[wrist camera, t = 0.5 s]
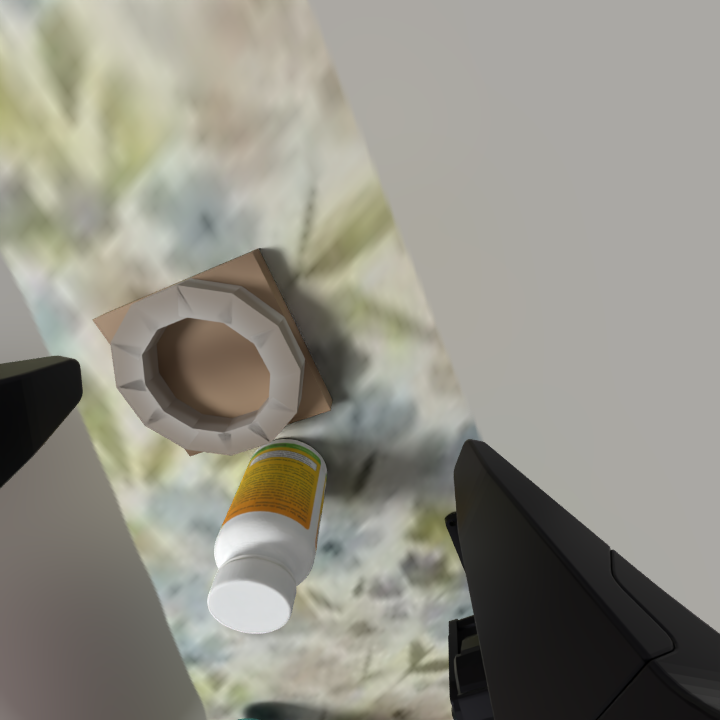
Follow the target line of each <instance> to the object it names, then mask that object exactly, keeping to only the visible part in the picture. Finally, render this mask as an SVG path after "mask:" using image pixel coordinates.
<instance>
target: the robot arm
mask: <svg viewBox="0 0 720 720" xmlns="http://www.w3.org/2000/svg"><path fill="white" fill-rule="evenodd" d="M82 393H83V389H82V379H81V369H80V364H79V362H78V361H77V360H75V359H72V358H67V357H62V356H50V357H43V358H37V359H30V360H23V361H17V362H10V363H3V364H0V488H1V487H2V486H3V485H4V484H5V483H6V482H8V481H9V480H10V479H11V478H12V477H13V476H14V474H16V473H17V472H18V471H19V470H20V469H21V468H22V467H23V466H24V465H25V464H26V463H27V462H28V461H29V460H30V459H31V458H32V457H33V456H34V455H35V453H36V452H37V451H38V450H39V449H40V448H41V447H42V446H43V444H44V443H45V442H46V441H47V440H48V439H49V437H50V436H51V435H52V434H53V433H54V431H55V430H56V429H57V428H58V427H59V425H60V424H61V423H62V422H63V421H64V419H65V418H66V417H67V416H68V415H69V414H70V412H71V411H72V410H73V409H74V408H75V407H76V405H77V404H78V403H79V401H80V400H81V397H82ZM454 486H455V499H456V511H457V513H454V514H450V515H448V516H446V518H445V523H446V527H447V529H448V532H449V534H450V536H451V539H452V541H453V544H454V546H455V549H456V551H457V553H458V556H459V558H460V561H461V563H462V566H463V568H464V570H465V573H466V577H467V582H468V587H469V592H470V597H471V603H472V608H473V613H474V615H472V616H469V617H466V618H463V619H460V620H458V619H455V620H452V621H449V636H448V642H449V687H450V701H451V705H452V716H453V719H454V720H720V634H719V633H718V632H717V631H716V630H714V629H713V628H712V627H710V626H709V625H708V624H706V623H705V622H704V621H702V620H701V619H700V618H698V617H697V616H696V615H694V614H693V613H692V612H691V611H689V610H688V609H687V608H685V607H684V606H683V605H682V604H680V603H679V602H678V601H676V600H675V599H674V598H672V597H671V596H670V595H669V594H667V593H666V592H665V591H663V590H662V589H661V588H659V587H658V586H657V585H656V584H655V583H653V582H652V581H651V580H650V579H649V578H647V577H646V576H645V575H644V574H642V573H641V572H640V571H638V570H637V569H636V568H635V567H634V566H633V565H631V564H630V563H629V562H628V561H627V560H625V559H624V558H623V557H622V556H621V555H619V554H618V553H617V552H616V551H615V550H610V547H609V546H608V545H607V544H606V543H605V542H604V541H602V540H601V539H600V538H599V537H598V536H596V535H595V534H594V533H593V532H592V531H590V530H589V529H588V528H587V527H586V526H584V525H583V524H582V523H581V522H580V521H578V520H577V519H576V518H575V517H574V516H572V515H571V514H570V513H569V512H568V511H566V510H565V509H564V508H563V507H562V506H560V505H559V504H558V503H557V502H556V501H555V500H553V499H552V498H551V497H550V496H549V495H547V494H546V493H545V492H544V491H542V490H541V489H540V488H539V487H538V486H536V485H535V484H534V483H533V482H532V481H531V480H529V479H528V478H527V477H526V476H524V475H523V474H522V473H521V472H520V471H519V470H517V469H516V468H515V467H514V466H513V465H511V464H510V463H509V462H508V461H507V460H505V459H504V458H503V457H502V456H501V455H499V454H498V453H497V452H496V451H495V450H493V449H492V448H491V447H490V446H489V445H487V444H486V443H485V442H482V441H477V440H472V439H468V440H466V441H465V443H464V445H463V447H462V450H461V452H460V455H459V457H458V460H457V462H456V465H455V469H454ZM451 521H453V522H451Z"/></svg>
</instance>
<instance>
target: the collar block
mask: <svg viewBox="0 0 720 720" xmlns="http://www.w3.org/2000/svg"><path fill="white" fill-rule="evenodd" d="M93 321H94V323H95V324H96V325H97V327H98V328H99V330H100V331H101V332H102V334H103V335H104V337H105V338H106V339H107V341H108V342H109V344H110V345H111V352H112V359H113V366H114V373H115V380H116V387H117V389H118V390H119V392H120V393H121V394H122V396H123V397H124V398H125V400H126V401H127V402H128V404H129V405H130V406H131V408H132V409H133V410H134V412H135V413H136V414H137V416H138V417H139V418H140V420H141V421H142V422H143V424H144V425H145V426H146V427H148V428H150V429H152V430H153V431H155V432H157V433H159V434H160V435H162V436H164V437H165V438H167V439H169V440H171V441H172V442H174V443H176V444H178V445H179V446H181V447H183V448H184V449H185V450H186V451H187V453H188V454H189V456H192V455H195V454H198V453H202V452H209V453H216V454H223V455H234V454H238V453H241V452H244V451H247V450H250V449H253V448H256V447H259V446H263V445H266V444H269V443H271V442H272V441H273V440H274V439H275V438H276V436H277V435H278V434H279V433H280V432H281V431H282V429H283V428H284V427H285V426H286V425H287V424H290V423H293V422H297V421H300V420H303V419H306V418H309V417H312V416H315V415H318V414H321V413H324V412H327V411H330V410H331V406H332V398H331V396H330V394H329V392H328V390H327V388H326V386H325V384H324V382H323V380H322V377H321V375H320V373H319V371H318V369H317V367H316V365H315V363H314V361H313V359H312V357H311V355H310V353H309V351H308V349H307V347H306V345H305V343H304V341H303V339H302V336H301V334H300V332H299V330H298V328H297V326H296V324H295V322H294V320H293V318H292V316H291V314H290V312H289V310H288V308H287V306H286V304H285V302H284V300H283V298H282V295H281V293H280V291H279V289H278V287H277V285H276V283H275V281H274V279H273V277H272V275H271V273H270V271H269V269H268V267H267V265H266V263H265V261H264V259H263V257H262V254H261V252H260V250H259V248H258V249H256V250H254V251H251V252H249V253H247V254H244V255H242V256H239V257H237V258H235V259H232V260H230V261H228V262H225V263H223V264H221V265H218V266H216V267H214V268H211V269H209V270H206V271H204V272H202V273H199V274H197V275H195V276H192V277H190V278H188V279H185V280H183V281H181V282H178V283H176V284H173V285H171V286H169V287H166V288H164V289H162V290H159V291H157V292H155V293H152V294H150V295H148V296H145V297H143V298H140V299H138V300H136V301H133V302H131V303H129V304H126V305H124V306H122V307H119V308H117V309H115V310H112V311H110V312H107V313H105V314H103V315H101V316H99V317H97V318H95V319H93Z"/></svg>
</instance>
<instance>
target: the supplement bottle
mask: <svg viewBox="0 0 720 720" xmlns="http://www.w3.org/2000/svg"><path fill="white" fill-rule="evenodd" d="M326 482H327V468H326V464H325V462H324V460H323V458H322V457H321V455H320V454H319V453H318V452H317V451H316V450H315V449H313V448H312V447H311V446H309V445H307V444H305V443H303V442H300V441H297V440H292V439H279V440H274V441H272V442H271V443H269V444H266V445H263V446H261V447H260V448H259V449H258V450H257V451H256V452H255V453H254V454H253V456H252V458H251V460H250V462H249V465H248V467H247V469H246V471H245V474H244V476H243V479H242V481H241V483H240V486H239V488H238V490H237V492H236V495H235V497H234V499H233V502H232V504H231V506H230V509H229V511H228V513H227V515H226V518H225V520H224V522H223V524H222V527H221V529H220V531H219V534H218V537H217V539H216V542H215V547H214V556H215V561H216V564H217V566H218V568H219V570H218V572H217V574H216V576H215V578H214V581H213V584H212V587H211V589H210V592H209V595H208V600H207V604H208V608H209V611H210V613H211V614H212V616H213V617H214V618H215V619H216V620H217V621H218V622H220V623H221V624H223V625H225V626H227V627H229V628H231V629H233V630H236V631H240V632H244V633H253V634H260V633H268V632H272V631H275V630H277V629H279V628H281V627H282V626H283V625H285V624H286V623H287V621H288V620H289V618H290V616H291V613H292V609H293V604H294V599H295V596H296V586H297V585H299V584H300V583H301V582H302V581H304V579H305V578H306V577H307V576H308V575H309V573H310V571H311V569H312V566H313V563H314V559H315V554H316V548H317V541H318V534H319V528H320V521H321V515H322V508H323V502H324V496H325V489H326Z"/></svg>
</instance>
